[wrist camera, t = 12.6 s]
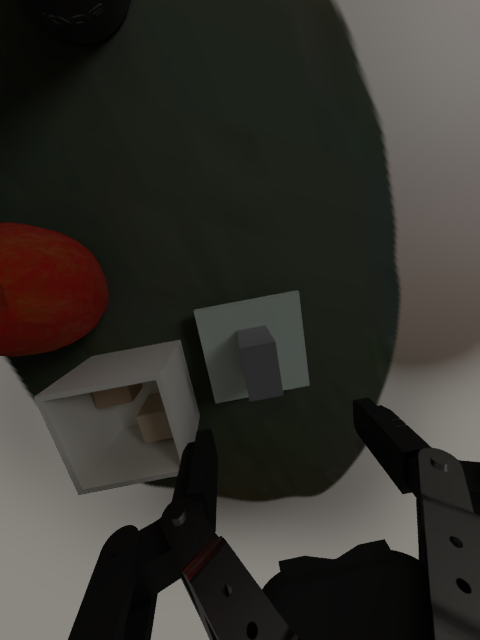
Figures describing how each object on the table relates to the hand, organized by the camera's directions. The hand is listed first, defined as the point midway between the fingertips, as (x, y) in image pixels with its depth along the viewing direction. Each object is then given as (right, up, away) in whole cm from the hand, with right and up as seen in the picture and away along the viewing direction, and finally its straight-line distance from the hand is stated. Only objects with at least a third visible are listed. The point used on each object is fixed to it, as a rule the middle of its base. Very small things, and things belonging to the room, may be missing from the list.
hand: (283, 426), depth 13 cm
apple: (-20, +9, +11) cm, 25 cm away
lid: (-1, +3, +14) cm, 14 cm away
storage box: (-13, -2, +14) cm, 19 cm away
